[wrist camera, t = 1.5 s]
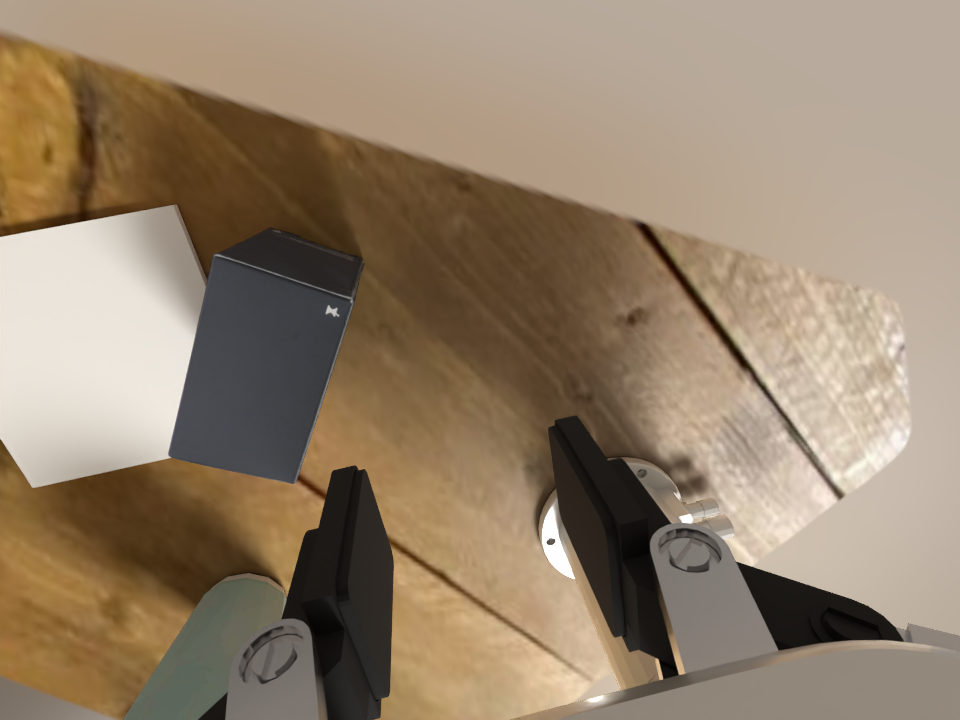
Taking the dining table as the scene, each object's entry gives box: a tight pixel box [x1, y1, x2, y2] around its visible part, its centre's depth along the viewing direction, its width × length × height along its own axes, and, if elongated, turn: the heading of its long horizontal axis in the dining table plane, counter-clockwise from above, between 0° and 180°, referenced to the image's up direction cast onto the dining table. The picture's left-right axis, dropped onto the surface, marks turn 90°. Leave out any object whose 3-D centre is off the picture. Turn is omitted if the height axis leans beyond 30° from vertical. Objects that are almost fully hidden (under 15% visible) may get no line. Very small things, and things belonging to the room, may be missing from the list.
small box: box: [168, 228, 364, 484], centre depth 27 cm, size 11×6×10 cm, turn 158°
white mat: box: [0, 204, 207, 488], centre depth 31 cm, size 16×16×1 cm
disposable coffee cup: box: [123, 573, 287, 720], centre depth 33 cm, size 11×11×15 cm
